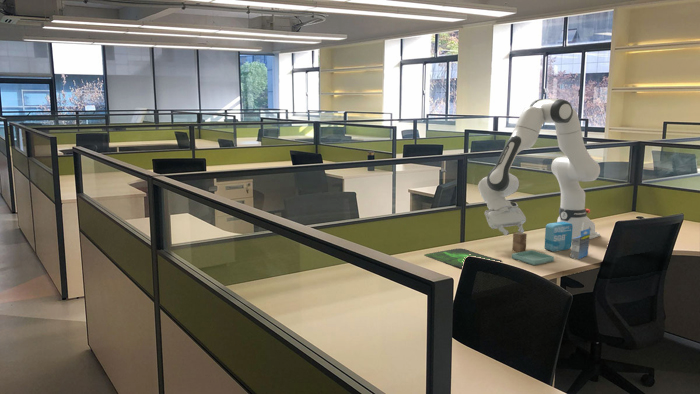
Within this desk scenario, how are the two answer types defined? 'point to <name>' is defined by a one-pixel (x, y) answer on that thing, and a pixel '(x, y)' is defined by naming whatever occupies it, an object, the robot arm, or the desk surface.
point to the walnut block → (519, 242)
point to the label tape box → (580, 245)
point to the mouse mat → (455, 256)
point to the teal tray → (532, 257)
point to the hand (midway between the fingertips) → (514, 233)
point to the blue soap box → (558, 236)
